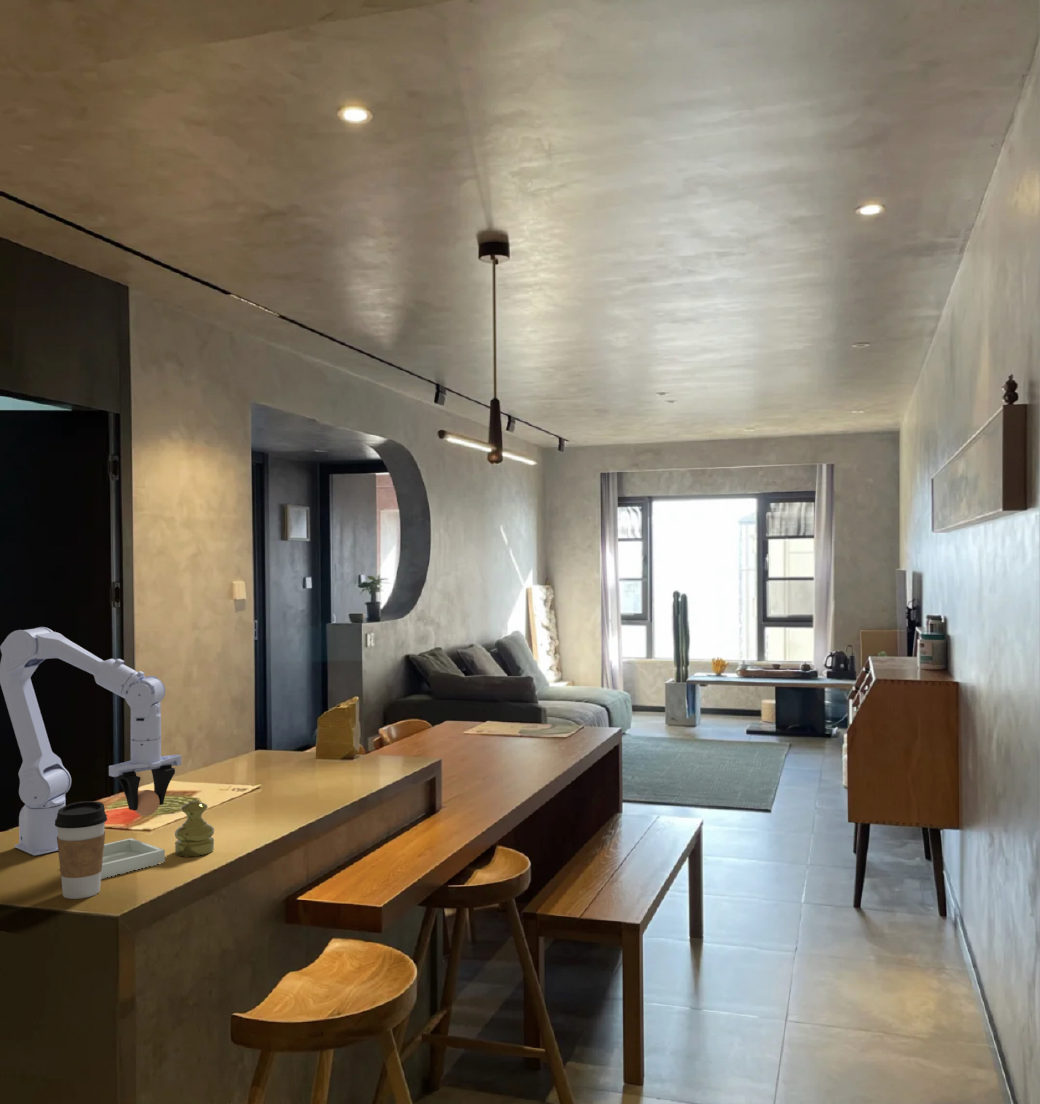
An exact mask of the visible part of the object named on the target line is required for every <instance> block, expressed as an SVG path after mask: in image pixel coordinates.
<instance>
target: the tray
mask: <svg viewBox="0 0 1040 1104" xmlns="http://www.w3.org/2000/svg"><path fill="white" fill-rule="evenodd" d="M165 853H166V851H165V849H163V848H160V847H158V846H155V845H153V844H149V843H147V842H145V841H144V842H143V841H141V840H138V839H135V838H134V837H133V838H132V837H131V838H125V839H122V840H117V841H112V842H108V843H104V851H103V861H102V871H101V880H103V879H104V880H105V879H108V878H112V877H115V875H116V876H118V875H117V874H120V875H124V874H127V873H126V872H128V873H130V872H129V871H132V872H134V871H133V870H136V871H139V870H138V869H140V870H142V869H141V868H143V869H146V868H145V867H147V868H149V867H148V866H151V867H154V865H155V866H158V865H157V864H159V863H162V862H165V861H166V860H165V858H166V857H165ZM165 863H166V862H165ZM159 865H160V864H159ZM111 876H112V877H111ZM107 877H108V878H107Z"/></svg>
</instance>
